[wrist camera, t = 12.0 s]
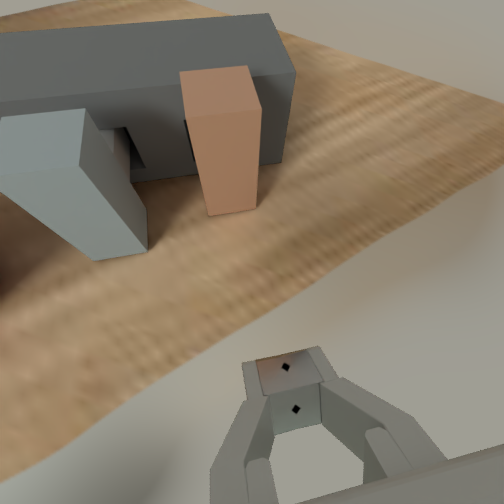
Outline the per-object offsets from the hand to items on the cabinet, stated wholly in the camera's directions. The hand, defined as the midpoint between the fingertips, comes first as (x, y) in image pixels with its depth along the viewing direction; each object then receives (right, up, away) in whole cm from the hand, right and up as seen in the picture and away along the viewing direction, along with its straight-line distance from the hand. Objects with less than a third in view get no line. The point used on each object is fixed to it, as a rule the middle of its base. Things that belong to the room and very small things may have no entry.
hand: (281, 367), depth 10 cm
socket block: (-9, +15, +15) cm, 23 cm away
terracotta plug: (-4, +12, +14) cm, 19 cm away
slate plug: (-12, +8, +12) cm, 19 cm away
